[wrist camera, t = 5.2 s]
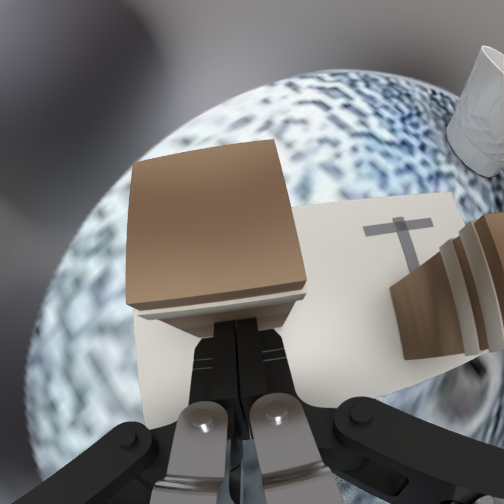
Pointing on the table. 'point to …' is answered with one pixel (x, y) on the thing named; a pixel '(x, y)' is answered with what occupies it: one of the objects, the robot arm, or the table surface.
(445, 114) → the table surface
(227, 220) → the one band post
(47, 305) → the table surface
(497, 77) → the white cup
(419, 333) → the two band post
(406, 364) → the white rectangular board
